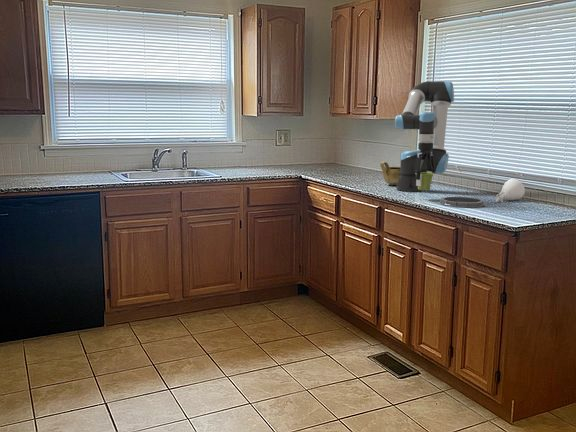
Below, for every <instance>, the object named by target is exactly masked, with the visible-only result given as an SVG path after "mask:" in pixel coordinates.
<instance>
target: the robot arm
mask: <svg viewBox="0 0 576 432" xmlns="http://www.w3.org/2000/svg"><path fill="white" fill-rule="evenodd" d="M454 90H455V89H454V84H453V82H452V81H446V80H444V81H440V80H439V81H423V82H420V83H418V84H417V85H415V86H414V87H413V88H411V89H410V91H409V93H408V100H407V101H406V102H407V103H406V104H405V107H404V109H403V111H402V113H401V114H397V115H396V116H395V118H394V127H395V128H396V130H418V147H417V148H418V150H417V149H415V150H408V151H402V153H401V154H400V166H399V167H400V178H399V181H398V184H397V186H396V191H399V190H401V191H400V192H409V191H415V192H416V191H417V192H423V190H419V189H418V186H421V181H422V174H421V173H422V172H425V173H433V174H435V175H437V174H444V173H445V172H446V171H447V168H448V164H449V159H450V156H449V153H447V149H445V141H446V129H447V120H448V108H449V107H451V105H452V103H454V102H455V91H454ZM425 102H428V103H430V104H429V105H430V106H431V107H432V109H431V110H432V111H421V112H420V113H419V115H417V114H418V112H419V110H420V107H421V105H422V104H423V103H425ZM415 173H416V174H415ZM432 182H433V179H432V180H431V185H432V184H433V183H432ZM415 192H414V193H415Z"/></svg>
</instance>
